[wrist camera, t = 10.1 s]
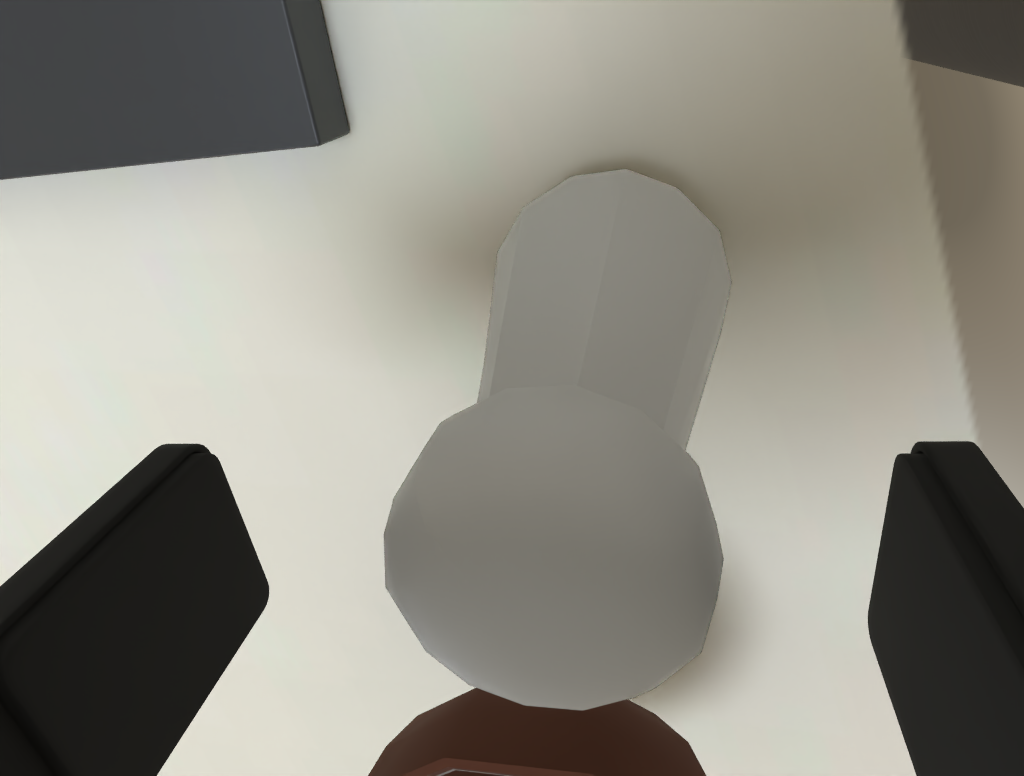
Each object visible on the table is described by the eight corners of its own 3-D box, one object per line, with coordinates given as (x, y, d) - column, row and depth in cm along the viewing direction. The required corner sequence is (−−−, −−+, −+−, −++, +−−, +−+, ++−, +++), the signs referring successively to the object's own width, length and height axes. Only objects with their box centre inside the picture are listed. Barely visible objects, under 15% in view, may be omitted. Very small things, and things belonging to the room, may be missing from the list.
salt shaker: (723, 137, 17) (827, 408, 6) (725, 345, 19) (799, 803, 8) (496, 166, 18) (229, 424, 7) (528, 356, 21) (368, 757, 10)
